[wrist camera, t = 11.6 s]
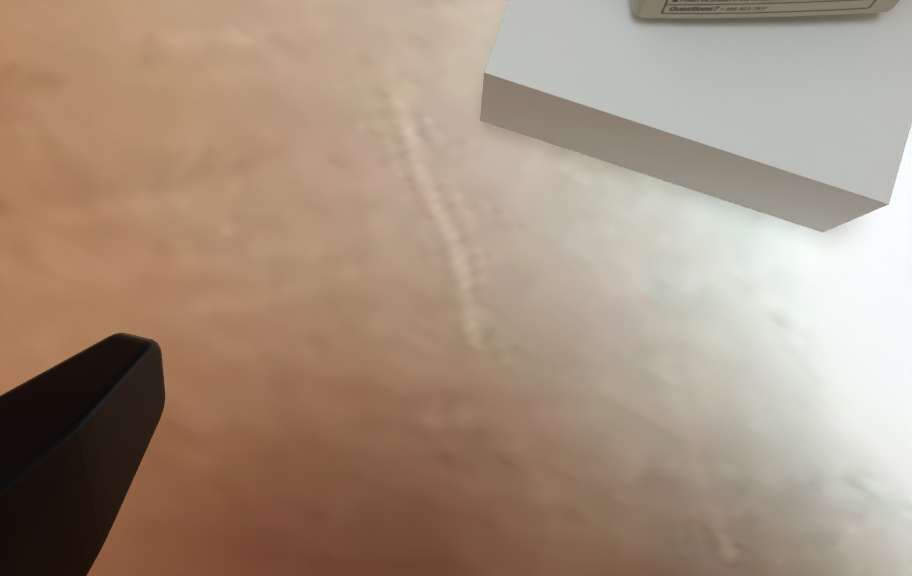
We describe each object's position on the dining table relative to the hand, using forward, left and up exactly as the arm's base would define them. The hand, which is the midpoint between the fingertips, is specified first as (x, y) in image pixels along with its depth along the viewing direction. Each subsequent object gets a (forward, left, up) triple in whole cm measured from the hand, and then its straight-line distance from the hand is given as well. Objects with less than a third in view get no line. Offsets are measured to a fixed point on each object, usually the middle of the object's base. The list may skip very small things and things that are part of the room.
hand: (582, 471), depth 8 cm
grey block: (0, -13, -14) cm, 19 cm away
